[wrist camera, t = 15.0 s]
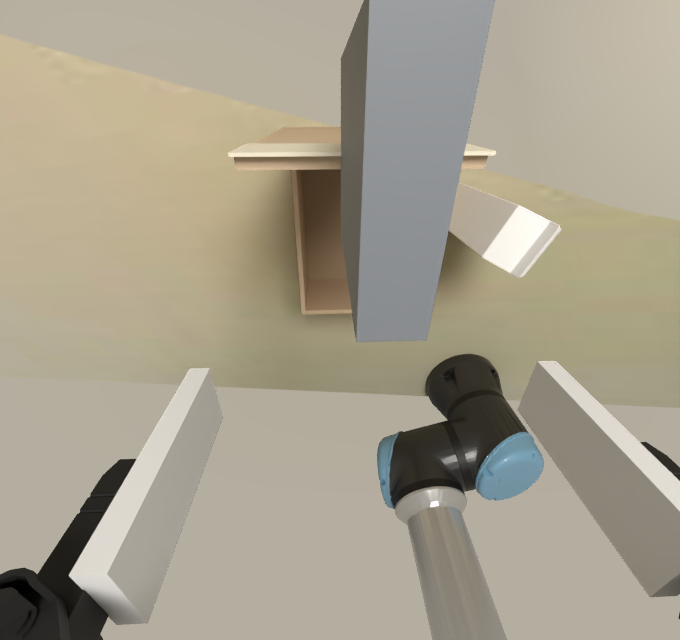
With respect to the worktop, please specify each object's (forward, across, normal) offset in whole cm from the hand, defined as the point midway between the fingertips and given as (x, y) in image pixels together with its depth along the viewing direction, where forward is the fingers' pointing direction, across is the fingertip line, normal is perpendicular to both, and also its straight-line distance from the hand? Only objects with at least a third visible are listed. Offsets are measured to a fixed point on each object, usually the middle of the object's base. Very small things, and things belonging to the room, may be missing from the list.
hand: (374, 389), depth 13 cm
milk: (+41, -19, 0) cm, 45 cm away
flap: (+13, 0, -5) cm, 14 cm away
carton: (+41, 0, +2) cm, 41 cm away
